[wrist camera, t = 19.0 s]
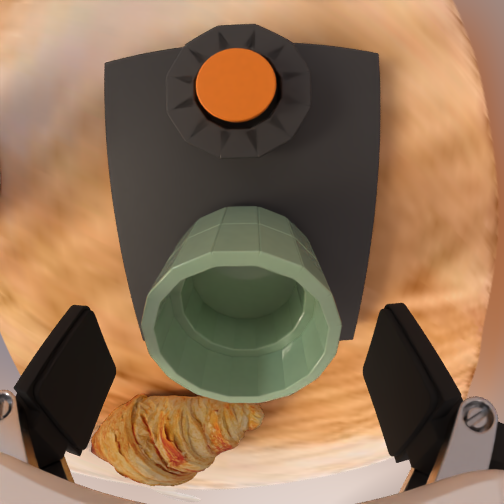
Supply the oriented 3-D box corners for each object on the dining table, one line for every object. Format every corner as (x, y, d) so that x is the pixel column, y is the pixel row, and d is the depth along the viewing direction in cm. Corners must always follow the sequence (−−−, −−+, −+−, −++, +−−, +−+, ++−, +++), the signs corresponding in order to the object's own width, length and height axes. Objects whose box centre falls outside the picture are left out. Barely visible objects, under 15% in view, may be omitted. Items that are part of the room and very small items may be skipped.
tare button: (202, 59, 10) (195, 50, 8) (273, 56, 10) (275, 46, 8) (203, 124, 11) (196, 123, 9) (274, 121, 11) (277, 120, 9)
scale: (116, 61, 12) (88, 50, 9) (368, 52, 11) (392, 39, 9) (149, 327, 18) (135, 358, 15) (347, 326, 18) (359, 357, 15)
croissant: (240, 341, 23) (200, 379, 15) (298, 435, 21) (284, 496, 14) (93, 404, 27) (46, 430, 19) (139, 471, 26) (102, 505, 18)
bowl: (168, 205, 13) (122, 252, 8) (318, 202, 13) (354, 249, 8) (185, 325, 16) (164, 399, 11) (308, 324, 16) (325, 399, 11)
